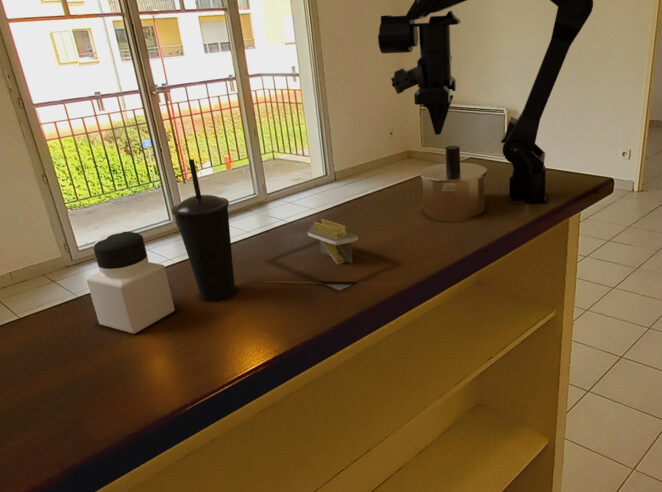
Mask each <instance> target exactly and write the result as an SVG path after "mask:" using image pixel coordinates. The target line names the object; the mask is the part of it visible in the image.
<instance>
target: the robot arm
mask: <svg viewBox="0 0 662 492" xmlns="http://www.w3.org/2000/svg"><path fill="white" fill-rule="evenodd" d="M467 1H468V0H414V1H413V3H412V4H411V6H410V8H409V9H408V11H407V13H406V14H404V15H391V14H386V15H385V14H384V15H380V24H379V29H378V35H377V41H378V42H377V43H378V47H379V50H380V52H381V54H406V53H412V52H413V50H414V47H415V48H417V47H418V44H419V58H418V60H417V61H416V63H417V65H416V66H414V67H412V68H410V69H407V70H405V69H404V68H400V69H398V70H395V71H394V72H393V73H394V75H393V76H392V77H391V78H390V80H391V86H392V88H394V90H395V92H396V94H397V95H399V94H401V93H403V92H405V91H406V90H408V89H410V88H413V87H415V86H417V88H418V89H417V90H416V92H415V93H414V96H413V98H414V105H416V106H419V105H420V106H421V105H422V106H424V108H426V109H427V111H428V114H429V117H430V121H431V124H432V128H433V132H434V135H437V136H438V135H441V134H442V131H443V129H444V126H445V123H446V120H447V117H448V114H449V112H450V111H449V110H450V108H451V105H452V102H453V100H454V95H453V94H451V91H452V92H456V90H457V79H456V78H454V77H453V75H452V63H451V62H452V60H453V59H452V54H451V26H456V25H459V24H461V22H462V21H461V19H459V18H458V16H456V15H455V13H454V12H453V10H448V11H447V13H446V14H445V15H431V16H430V17H429V20H428V22H416V21H417V20H420V19H425V18H427V17H428V16H429V15H430V14H435V13H439V12H442V11H445V10H447V9H450V8H452V7H454V6H458V5H460V4H462V3H465V2H467ZM549 1H550V2H551V3H552V4H553V5H555V6H556V7H557V8H556V9H557V10H556V15H555V19H554V24H553V29H552V33H551V38H550V41H549V43H548V46H547V49H546V51H545V54H544V56H543V59H542V61H541V64H540V66H539V69H538V71H537V74H536V76H535V79H534V81H533V84H532V87H531V90H530V92H529V93H528V97H527V99H526V102H525V105H524V107H523V110H522V111H521V113H520V115H519V116H518V117H517V118H516V117H515V116H514V117H513V116H510V118H509V120H508V124H507V128H506V131H505V132H504V133H503V136H502V138H501V141H500V143H501V144H503V146H502V154H503V157H504V158H505V159H506V161H507V162H509V163H510V164H511V165H512V173H510V174H509V198H511V202H524V203H526V204H531V203H533V204H537V203H538V204H541V203H546V202H547V198H546V174H547V173H546V172H547V167H546V165H545V159H546V152H545V151H544V149H542V148H541V147H540V146H539V145H538V144H537V143H536V140H537V136H538V132H539V126H540V124H541V123H540V122H541V118H542V117H543V114H544V111H545V109H546V106H547V104H548V101H549V99H550V97H551V94H552V91H553V89H554V87H555V84H556V81H557V79H558V77H559V74H560V72H561V69H562V67H563V64H564V62H565V60H566V58H567V56H568V55H567V54H568V53H569V50H570V48H571V46H572V44H573V43H574V41H575V40H576V38H577V36H578V35H579V34H580V32H581V30H582V28H583V27H584V25H585V24H586V22H587V20H588V19H589V17H590V16H591V14H592V12H593V9H594V0H549Z"/></svg>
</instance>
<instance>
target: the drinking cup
mask: <svg viewBox="0 0 662 492" xmlns="http://www.w3.org/2000/svg"><path fill="white" fill-rule="evenodd" d="M188 163H189V168H190V174H191V178H192V183H193V188H194V194H195V195H193V196H190V197H187V198H184V199H183V200H182V201H180V202H179V203H176V204H175V205H174V206H172V208H171V214H172V215H173V216H175V219H176V223H177V226H178V229H179V232H180V236H181V238H182V242H183V244H184V247H185V251H186V255H187V257H188V260H189V263H190V266H191V269H192V272H193V276H194V279H195V282H196V285H197V288H198V291H199V294H200V297H201V299H202V300H203V301H204V300H205V301H207V302H216V301H222V300H226V299H227V298H228V299H229V298H230V297H231V296H233V295H234V294H235V292H236V286H235V275H234V264H233V252H232V251H233V250H232V241H231V229H230V219H229V218H230V217H229V208H228V207H229V206H230V201H229V200H228V199H227V198H226V197H221V196H218V195H215V194H201V188H200V184H199V177H198V172H197V169H196V163H195V159H194V158H192V159H188Z"/></svg>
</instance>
